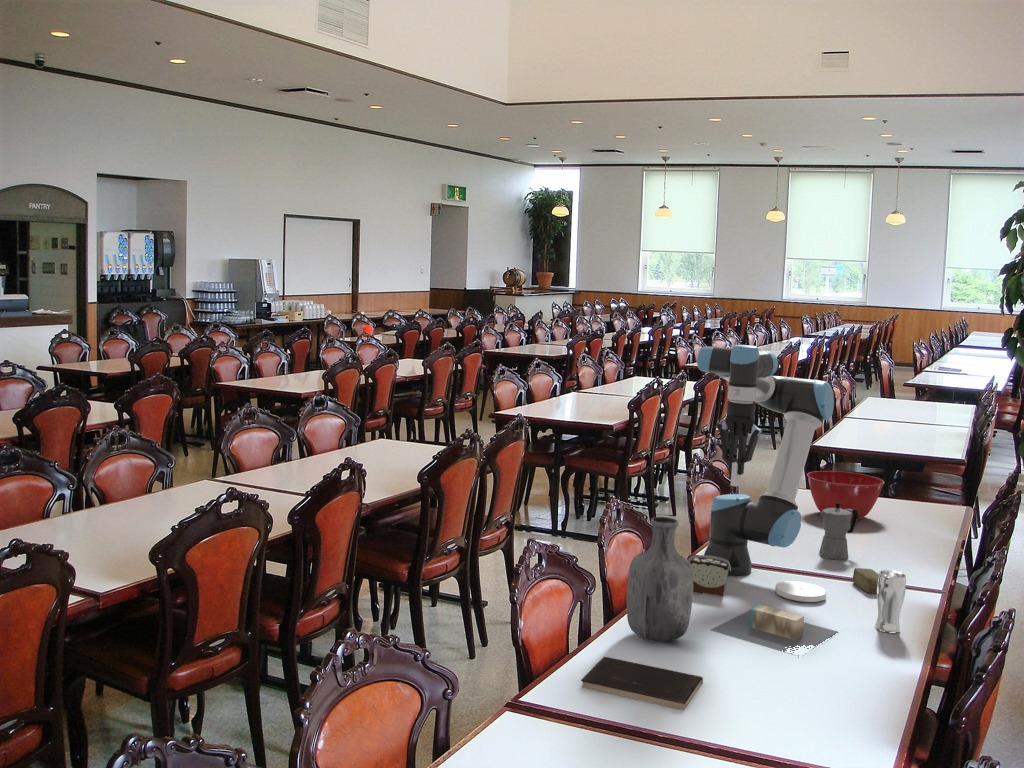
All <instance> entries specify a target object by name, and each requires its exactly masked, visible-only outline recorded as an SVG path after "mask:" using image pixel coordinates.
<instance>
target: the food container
mask: <svg viewBox="0 0 1024 768" xmlns="http://www.w3.org/2000/svg"><path fill="white" fill-rule="evenodd" d="M688 561H689V562H690V564H691V565H692V569H693V594H697V595H703V594H708V595H713V596H717V597H718V596H720V597H724V596H725V594H726V593H725V591H726V588H727V587H726V586H727V583H728V581H727V580H728V576H729V575H728V571H729V569H730V572H731V566H730V563H729V561H727V560H726V559H723V558H720V557H715V556H706V555H704V554H703V555H694V556H690V557H689V559H688Z"/></svg>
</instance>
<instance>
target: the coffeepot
mask: <svg viewBox="0 0 1024 768" xmlns="http://www.w3.org/2000/svg"><path fill="white" fill-rule="evenodd" d="M835 505H836V508H827V509H823V510H822V512H820V513H819V514H820V516H822V524H823V525H822V527H823V531H824V535H823V537H822V541H821V545H820V548H819V550H818V551H819V552H818V554H819V556H820V557H822V556H823V557H822V558H824V557H827V558H826V559H828V558H831V559H830V560H834V559H844V560H847V559H848V558H849V551H848V540H847V534H852V533H853V532H854V529H855V526H856V523H857V521H858V520H857V519H858V516H859V514H858V512H857V511H856V509H846V510H844V509H841V508H839V507H840V503H835ZM852 514H853V515H854V516H853V519H852V520H851V517H852ZM846 558H847V559H846Z"/></svg>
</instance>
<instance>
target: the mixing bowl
mask: <svg viewBox="0 0 1024 768" xmlns="http://www.w3.org/2000/svg"><path fill="white" fill-rule="evenodd" d="M806 476H807V480H808V485H809V490H810V493H811V496H812V499H813V502H814V504H815V506H816V508H817V510H818V511H819V512H820V513H821V512H822V510H823V509H827V508H836V505H835V503H840V507H839V508H841V509H844V510H846V509H856V511H857V512H858V514H859V516H858V519H857V521H859V520H861V519H862V518H864V517H866V516H867V515H868V514H869V513H870V512H871V510H872V509H873V507H874V506H875V504H876V502H877V501H878V499H879V496H880V494H881V492H882V489H883V486H884V484H885V481H884V480H883V479H881V478H880V477H876V476H874V475H873V476H871V475H869V474H868V475H867V474H863V473H856V472H850V471H839V470H838V471H836V470H819V471H817V470H815V471H810V472H808V473H806ZM853 516H854V515H853V514H852V517H851V521H852V519H853Z"/></svg>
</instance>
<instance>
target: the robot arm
mask: <svg viewBox="0 0 1024 768" xmlns="http://www.w3.org/2000/svg"><path fill="white" fill-rule="evenodd" d="M696 365H697V368H698V369H699V371H700V372H703V373H707V374H715V375H717V376H718V377H720V378H722V379H723V380H725V381H727V382H728V388H727V389H728V391H727V399H728V400H729V401H726V417H725V419H724V421H723V422H721V423H717V424H716V428H717V430H718V432H719V435H720V436H719V438H720V443H721V451H722V457H723V459H725V460H728V461H729V464H728V472H729V474H731V475H730V487H739V486H740V485H741V476H742V475H744V472H745V463H748V462H751V461H752V460H753V456H754V454H755V453H754V452H755V449H756V446H757V442H758V440H759V437H760V436H761V434H762V433H763V429H762V428H759V427H758V426H757V425H756V421H755V411H756V404H758V405H759V406H761V407H764V408H766V409H767V410H770V411H772V412H774V413H775V412H776V413H780V414H783V418H784V419H785V420H786V424H785V429H784V432H783V435H782V438H781V441H780V446H779V448H778V452H777V456H776V459H775V463H774V466H773V468H772V472H771V476H770V479H769V483H768V486H767V489H766V491H765V493H762V494H760V496H759V498H758V502H755V501H754V502H753V501H752V498H751V496H750V495H748V494H744V493H742V494H741V493H731V494H730V493H728V494H722V495H721V494H720V495H717V496H715V497H713V499H712V501H711V507H710V520H709V534H708V535H709V537H708V543H707V546H706V548H705V551H704V554H703V555H706V556H715V557H720V558H723V559H726V560H727V561H729V563H730V566H731V572H730V569H729V571H728V576H734V577H736V576H737V577H738V576H747V575H748V574H750V573H751V572H752V568H753V567H752V566H753V565H752V561H751V555H750V552H749V551H750V550H749V547H748V542H749V541H750V542H754V543H758V544H762V545H763V544H764V545H769V546H771V547H779V548H788V547H790V545H792V544H793V543H794V542H795V541H796V540H797V537H798V536H799V533H800V530H801V526H802V515H801V512H800V511H799V506H798V504H797V502H796V496H797V493H798V490H799V487H800V484H801V480H802V476H803V473H804V470H805V465H806V462H807V459H808V456H809V452H810V449H811V444H812V441H813V437H814V434H815V431H816V430H817V429H819V428H821V427H822V424H823V421H824V420H825V421H827V420H830V419H831V417H832V416H833V414H834V408H835V407H834V406H835V395H834V390H833V388H832V386H831V383H829V382H827V381H824V380H819V379H816V378H815V379H809V378H800V377H790V376H783V375H782V376H781V375H780V376H779V375H774V374H775V373H776V372H777V370H778V367H779V360H778V358H777V356H776V354H775V353H773V352H771V351H770V350H760V349H759V347H758V346H756V345H749V344H748V345H747V344H734V345H733V346H732V347H731V348H727V347H720V346H719V347H717V346H714V345H713V346H703V347H701V348H700V350H699V351H698V353H697V358H696ZM755 403H756V404H755ZM728 430H729V432H728ZM750 432H751V434H750V437H749V433H750ZM748 437H749V441H747V440H748ZM729 438H730V439H729ZM747 442H748V444H747Z"/></svg>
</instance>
